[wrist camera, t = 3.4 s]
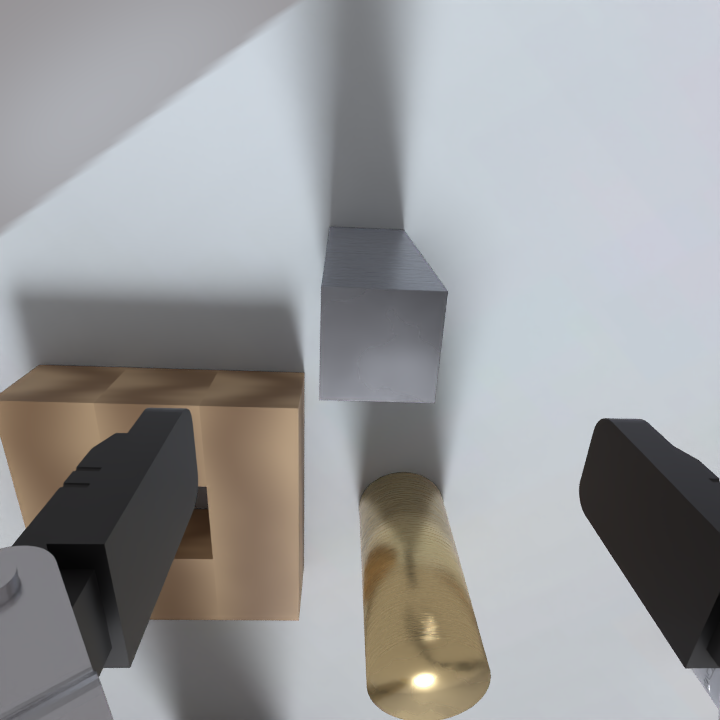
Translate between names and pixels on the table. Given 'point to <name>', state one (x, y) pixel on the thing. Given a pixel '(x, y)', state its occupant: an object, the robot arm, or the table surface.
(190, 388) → the bore block
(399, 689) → the round bit
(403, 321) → the square bit
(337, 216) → the table surface
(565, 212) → the table surface
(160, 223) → the table surface
